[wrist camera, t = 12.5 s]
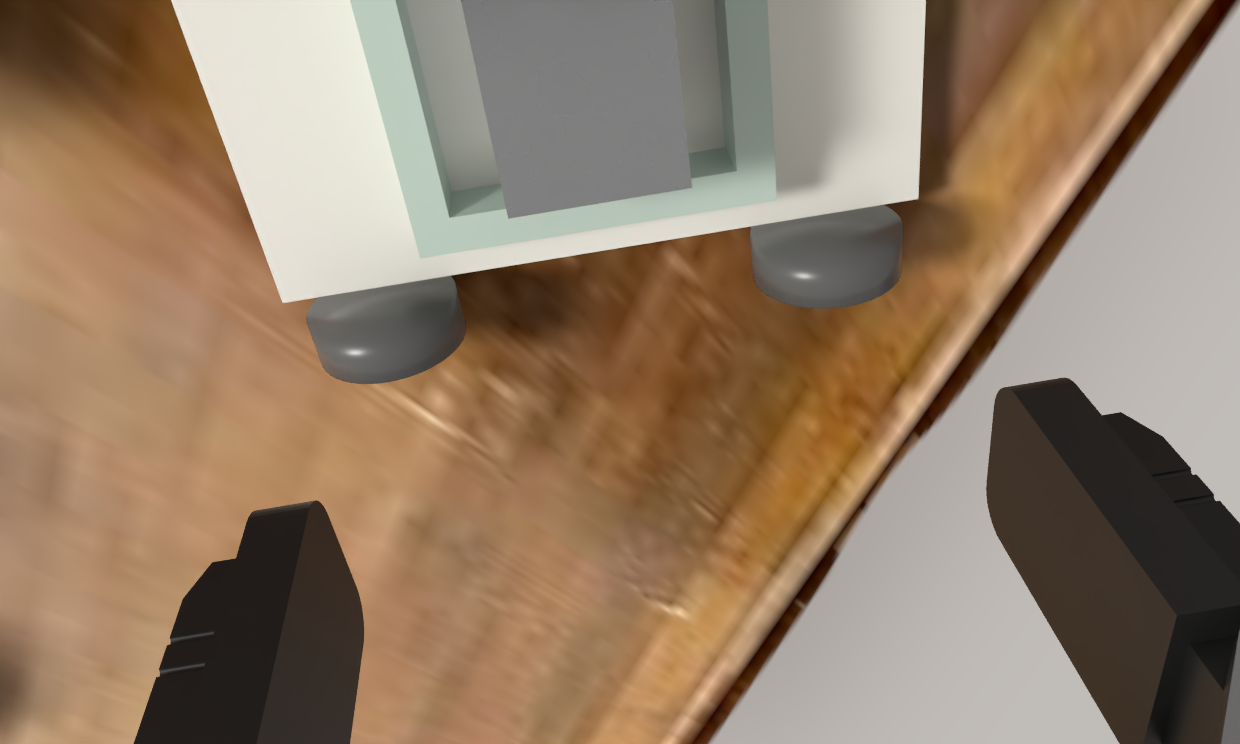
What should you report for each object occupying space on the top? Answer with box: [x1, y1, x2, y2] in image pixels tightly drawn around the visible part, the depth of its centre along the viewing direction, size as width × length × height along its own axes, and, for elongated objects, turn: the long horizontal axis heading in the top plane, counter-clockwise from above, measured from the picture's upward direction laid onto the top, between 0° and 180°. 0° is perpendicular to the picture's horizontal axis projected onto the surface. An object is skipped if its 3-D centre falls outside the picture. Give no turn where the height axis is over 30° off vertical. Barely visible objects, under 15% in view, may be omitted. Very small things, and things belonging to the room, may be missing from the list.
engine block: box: [461, 0, 692, 219], centre depth 28 cm, size 7×5×6 cm
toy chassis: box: [171, 0, 926, 384], centre depth 30 cm, size 19×22×5 cm
